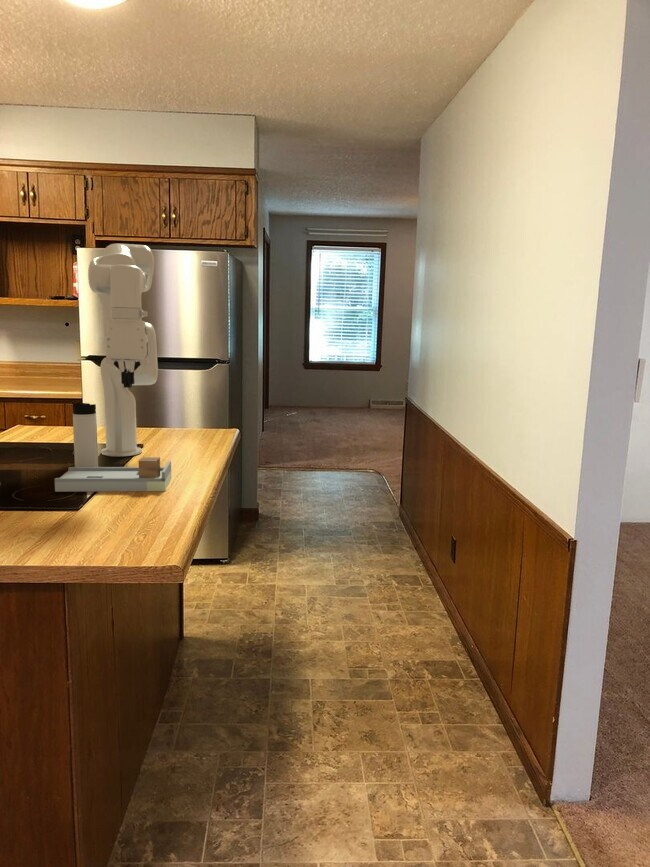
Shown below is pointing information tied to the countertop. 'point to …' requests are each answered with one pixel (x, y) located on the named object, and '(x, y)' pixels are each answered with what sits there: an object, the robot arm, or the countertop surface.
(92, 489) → the trap box
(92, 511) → the countertop surface
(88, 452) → the travel mug
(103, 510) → the countertop surface
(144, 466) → the block
